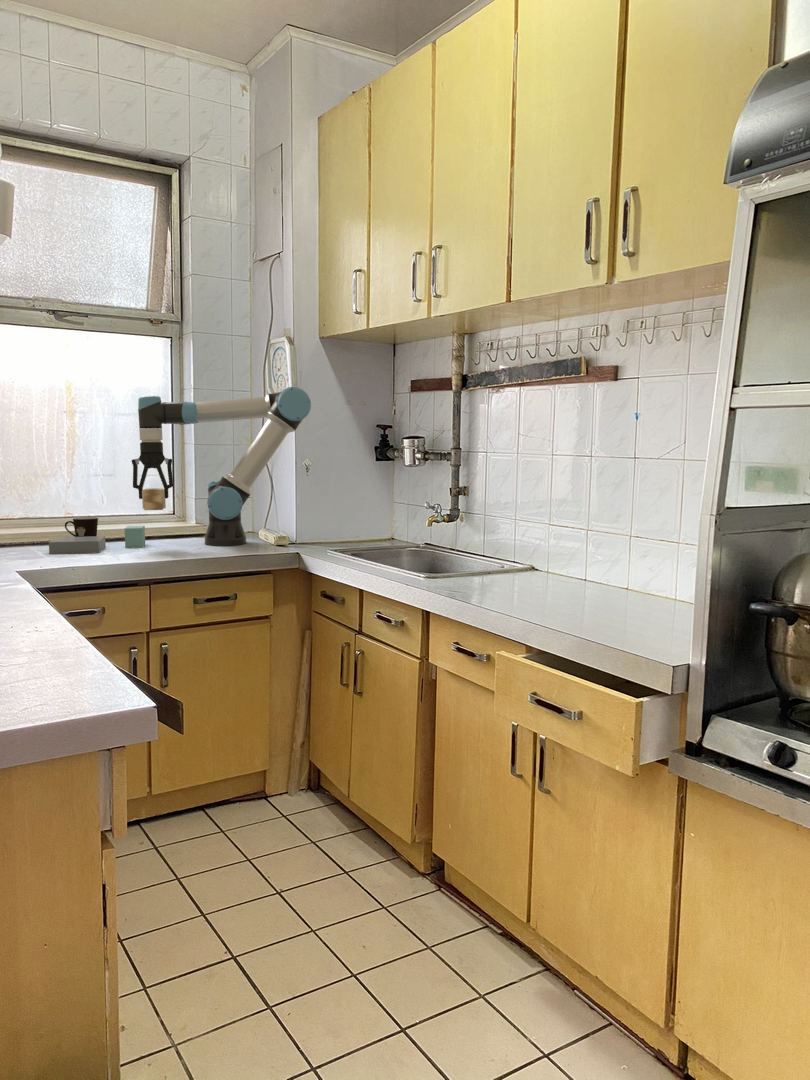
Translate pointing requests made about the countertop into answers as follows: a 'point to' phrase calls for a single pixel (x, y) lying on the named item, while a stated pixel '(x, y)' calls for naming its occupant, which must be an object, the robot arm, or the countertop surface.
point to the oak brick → (153, 499)
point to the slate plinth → (77, 545)
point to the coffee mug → (84, 526)
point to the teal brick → (134, 536)
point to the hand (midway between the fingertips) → (154, 508)
